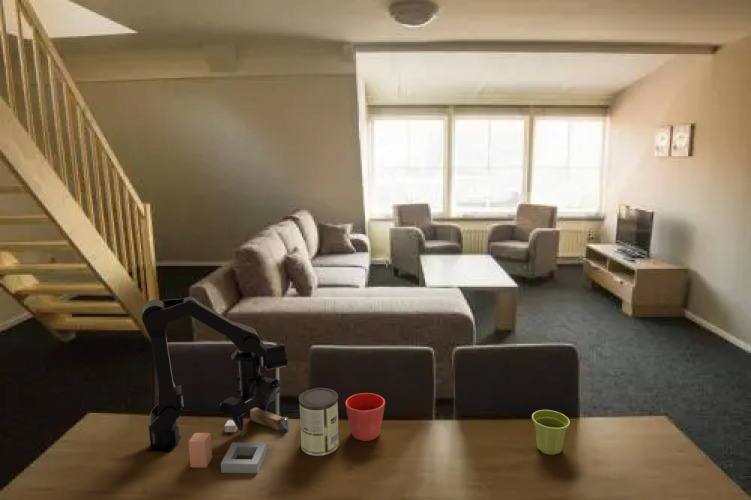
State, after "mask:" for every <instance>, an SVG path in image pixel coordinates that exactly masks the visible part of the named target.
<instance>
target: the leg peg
mask: <svg viewBox="0 0 751 500" xmlns="http://www.w3.org/2000/svg"><path fill="white" fill-rule="evenodd" d="M212 452H213V451H212V439H211V433H210V432H195V433H194V434H193V435H192V436H191V437H190V439H189V440H188V453H189V463H190V468H207V467H208V465H209V464H210V462H211V461H212V459H213V453H212Z"/></svg>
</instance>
